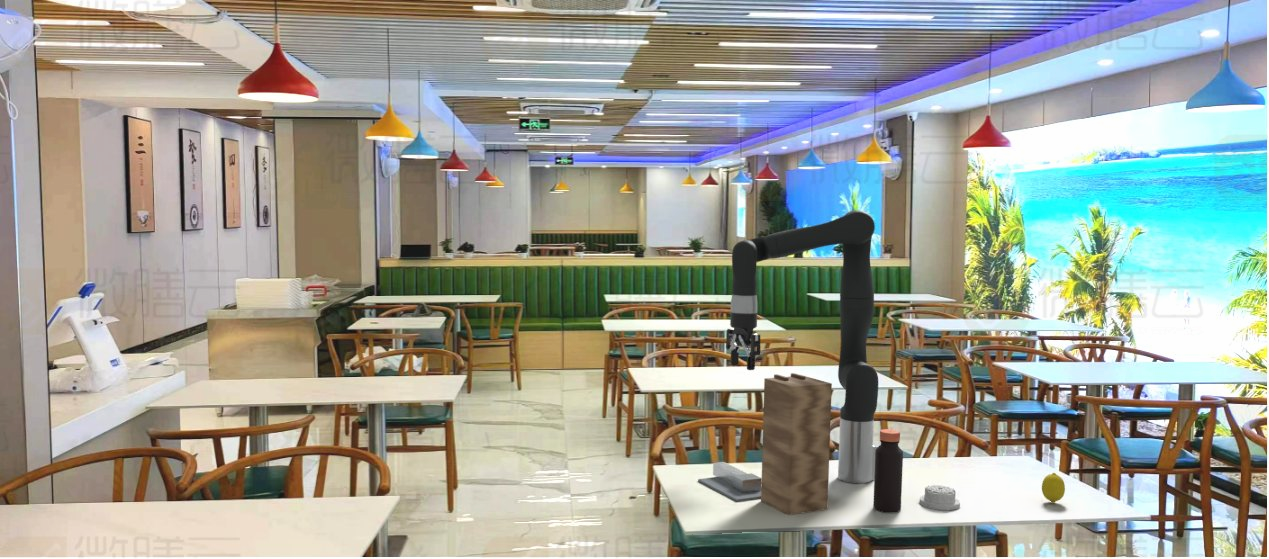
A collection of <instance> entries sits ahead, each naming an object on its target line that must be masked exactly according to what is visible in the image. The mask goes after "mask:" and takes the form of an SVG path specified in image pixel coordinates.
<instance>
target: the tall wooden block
mask: <svg viewBox="0 0 1269 559" xmlns="http://www.w3.org/2000/svg"><path fill="white" fill-rule="evenodd" d="M763 382H764V383H763V384H764V386H763V417H762V418H763V419H762V449H761V450H762V452H761V453H762V454H761V499H760V501H762V502H761V503H763V502H764V504H765V503H766V504H765V505H767V504H768V506H769V505H770V507H771V506H772V508H773V507H774V509H775V508H776V509H775V510H777V509H778V511H779V510H780V511H779V512H781V513H783V512H784V513H783V514H785V513H786V515H787V516H789V515H790V516H791V515H797V514H802V512H805V513H811V512H817V510H818V511H823V510H828V506H829V505H828V503H829V501H828V500H829V478H830V477H829V474H830V449H831V448H830V445H831V442H830V441H831V419H832V417H831V416H832V414H831V412H832V385H833V384H832V383H831V382H828V381H824V380H822V379H821V380H820V379H817V378H813V377H810V376H806V375H802V374H798V373H794V372H791V373H790V376H784V375H781V374H773V377H767V378H764V380H763ZM810 511H811V512H810Z"/></svg>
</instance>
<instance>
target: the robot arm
mask: <svg viewBox="0 0 1269 559" xmlns="http://www.w3.org/2000/svg"><path fill="white" fill-rule="evenodd" d="M875 224H876V223H875V221H874V219H873V217H872V216H871V215H870V213H868V212H866V211H864V210H859V209H855V210H854V209H853V210H850V211H849V212H847V213H846V214H845V215H843V216H840V217H838V218H836V219H833V220H830V221H828V222H823V223H820V224H816V225H811V226H810V225H809V226H804V227H803V226H802V227H798V228H792V229H787V230H782V231H778V232H774V233H771V234H769V235H766V236H760V237H755V238H750V239H749V238H748V239H745V240H740V241H739V242H737V243H736V244H735V245H734V246H733V248H732V254H731V264H732V282H731V283H732V284H731V299H730V318H729V319H730V321H729V322H730V323H729V325H730V327H731V328H727V330H726V344H725V348H726V350H729V352H730V365H731V366H732V367H733V366H738V365H739V361H740V360H739V358H740V357H739V355H740V354H739V350H740V348H742V349H743V351H745V353H746V356H747V357H746V370H748V371H754V370H755V369H756V367H755V366H756V357H757V356H760V355H761V334H760V333H754V329H756V328H757V327H758V296H757V295H758V280H757V279H758V278H757V263H758V262H762V261H766V260H769V259H773V260H774V259H780V258H784V257H788V256H792V255H797V254H801V253H804V252H808V251H811V250H814V249H819V248H823V247H828V246H833V245H842V255H843V256H842V258H843V259H842V260H843V262H842V270H841V276H840V277H841V278H840V290H839V291H840V292H839V312H840V313H839V314H840V317H839V318H840V352H839V353H840V354H839V361H838V371H837V378H838V381H839V384H840V386H841V387H842V388H843V389H844V390H845V398H844V404H843V406H842V407H841V408H840V409H839V410H840V412H839V414H840V415H839V438H838V439H839V442H838V443H839V444H838V465H837V466H838V467H837V469H838V471H837V478H838V479H839V480H840V481H843V482H846V483H853V484H865V483H866V484H867V483H870V482H872V481H874V475H875V451H876V449H877V448H876V446H875V445H874V427H875V426H874V425H875V424H874V422H875V421H874V420H875V413H876V411H877V409H878V397H879V376H878V372H877V371H876V369H875V368H874V367H873V366H872V365H870V364H868V361H867V360H868V359H867V357H868V356H867V341H868V336H869V333H870V330H871V326H872V323H873V319H874V313H875V292H874V281H873V280H874V279H873V274H872V267H871V249H872V248H871V247H872V238H873V237H872V236H873V235H874V233H875V228H876V226H875Z"/></svg>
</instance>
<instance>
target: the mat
mask: <svg viewBox="0 0 1269 559" xmlns="http://www.w3.org/2000/svg"><path fill="white" fill-rule="evenodd" d="M697 481H698V482H699V483H701V484H703V485H704V486H706V487H708V488H710V489H712V490H713V491H716V492H717V491H718V493H719V492H720V494H721V493H722V495H723V496H725V497H727V498H729V499H731V500H733V501H735V502H736V503H737V502H738V503H740V502H745V501H746V500H747V501H752V500H753V499H754V500H760V499H759V498H761V491H756V492H747V493H741V492H739V491H737V490H735V489H734V488H733V485H731V484H729V483H727V482H725V481H723V480H722V479H720V478H718V477H716V476H713V477H706V478H705V477H704V478H698V479H697Z"/></svg>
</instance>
